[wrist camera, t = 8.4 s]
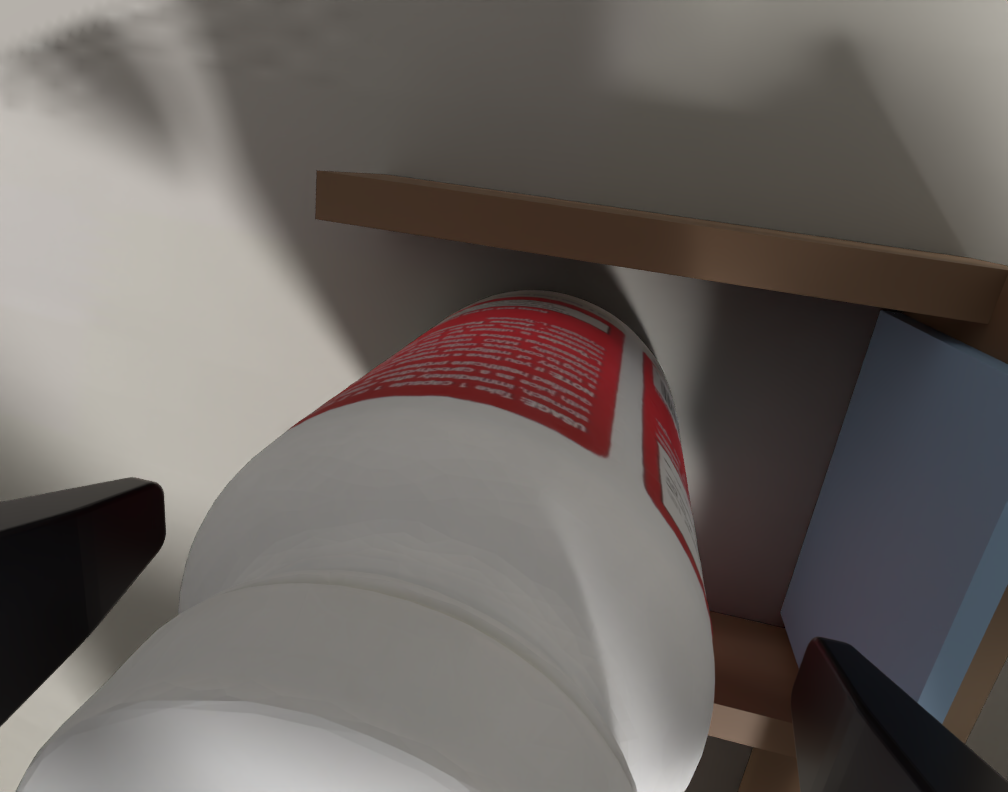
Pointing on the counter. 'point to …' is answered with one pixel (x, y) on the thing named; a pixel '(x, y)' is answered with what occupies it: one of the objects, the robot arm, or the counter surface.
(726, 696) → the divider rack
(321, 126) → the counter surface
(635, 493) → the pill bottle
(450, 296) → the counter surface
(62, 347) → the counter surface
